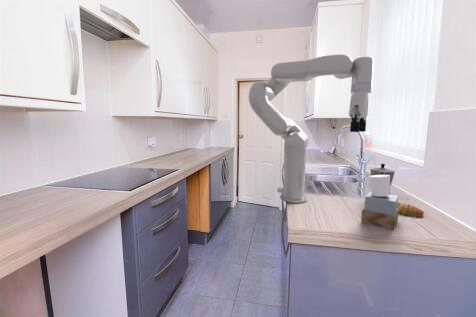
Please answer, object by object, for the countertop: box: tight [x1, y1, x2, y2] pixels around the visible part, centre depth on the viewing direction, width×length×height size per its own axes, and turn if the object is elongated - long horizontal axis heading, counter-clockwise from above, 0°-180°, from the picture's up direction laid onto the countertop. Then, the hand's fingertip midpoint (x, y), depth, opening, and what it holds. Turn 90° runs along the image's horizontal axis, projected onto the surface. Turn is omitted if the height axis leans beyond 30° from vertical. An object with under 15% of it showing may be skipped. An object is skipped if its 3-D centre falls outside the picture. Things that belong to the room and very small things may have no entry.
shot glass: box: [367, 174, 391, 197], centre depth 85 cm, size 7×7×7 cm
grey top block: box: [363, 190, 399, 216], centre depth 86 cm, size 9×9×5 cm
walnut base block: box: [360, 206, 399, 231], centre depth 87 cm, size 10×10×5 cm
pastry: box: [397, 201, 425, 218], centre depth 95 cm, size 9×7×4 cm
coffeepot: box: [370, 163, 396, 187], centre depth 109 cm, size 15×9×18 cm, turn 148°
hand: (357, 131), depth 99 cm, fingers open, 9 cm apart
